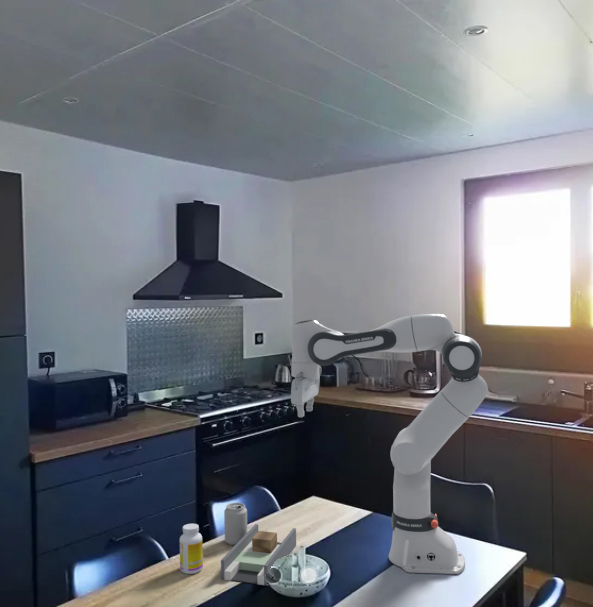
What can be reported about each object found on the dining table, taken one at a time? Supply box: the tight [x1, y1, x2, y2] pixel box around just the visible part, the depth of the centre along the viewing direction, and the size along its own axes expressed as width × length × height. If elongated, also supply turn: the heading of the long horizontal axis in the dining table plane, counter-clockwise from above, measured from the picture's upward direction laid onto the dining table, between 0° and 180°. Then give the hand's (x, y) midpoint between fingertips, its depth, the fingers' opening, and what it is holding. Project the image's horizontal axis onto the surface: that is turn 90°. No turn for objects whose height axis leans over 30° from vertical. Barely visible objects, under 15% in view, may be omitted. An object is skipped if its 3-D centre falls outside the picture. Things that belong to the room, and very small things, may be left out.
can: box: [223, 502, 248, 546], centre depth 194 cm, size 8×8×12 cm
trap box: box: [220, 523, 297, 587], centre depth 180 cm, size 14×28×6 cm, turn 163°
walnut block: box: [252, 530, 278, 554], centre depth 183 cm, size 6×6×4 cm
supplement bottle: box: [179, 523, 204, 575], centre depth 175 cm, size 7×7×13 cm
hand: (305, 413), depth 189 cm, fingers open, 8 cm apart
